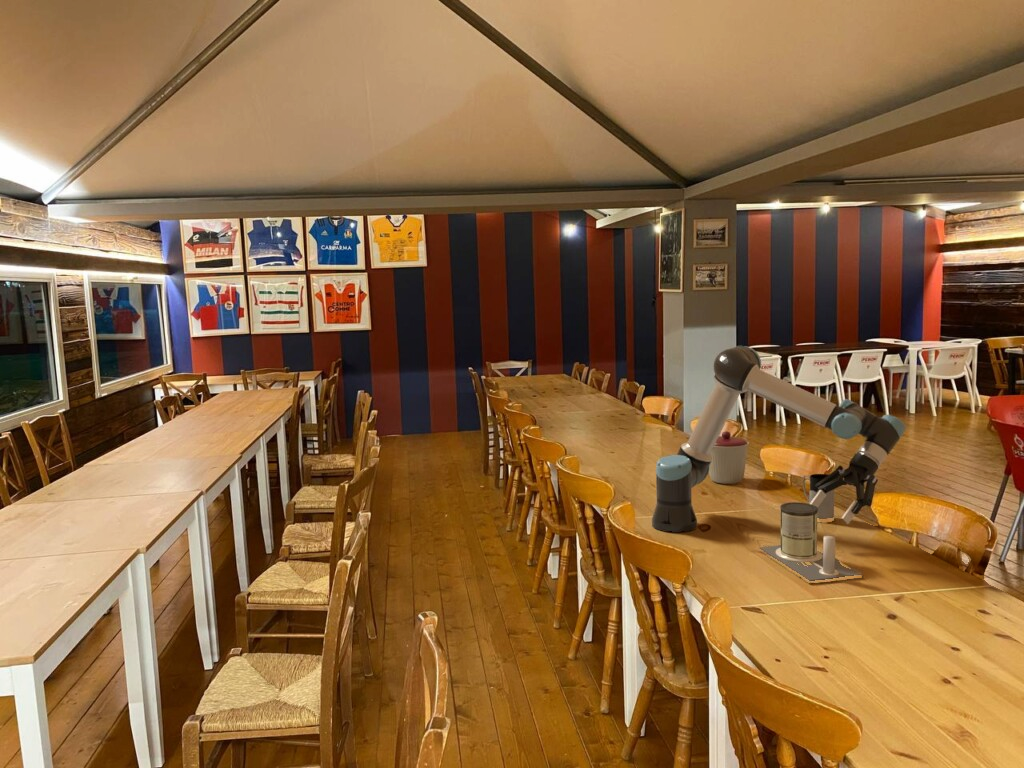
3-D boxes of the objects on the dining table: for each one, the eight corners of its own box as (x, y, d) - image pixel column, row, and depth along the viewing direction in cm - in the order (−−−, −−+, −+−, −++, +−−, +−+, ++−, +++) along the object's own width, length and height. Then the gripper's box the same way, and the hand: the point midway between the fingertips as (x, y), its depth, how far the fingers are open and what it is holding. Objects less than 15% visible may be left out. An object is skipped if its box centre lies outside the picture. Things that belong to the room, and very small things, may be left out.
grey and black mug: (819, 524, 249) (819, 480, 247) (792, 512, 262) (792, 471, 260) (841, 521, 251) (841, 478, 249) (813, 509, 264) (813, 469, 263)
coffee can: (774, 548, 224) (774, 502, 222) (808, 546, 224) (808, 501, 222) (788, 560, 213) (788, 513, 212) (823, 558, 214) (824, 511, 212)
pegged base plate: (809, 584, 199) (809, 544, 198) (759, 551, 226) (759, 515, 224) (863, 578, 202) (863, 538, 201) (807, 546, 228) (807, 510, 227)
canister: (704, 486, 302) (704, 435, 299) (703, 475, 319) (703, 427, 317) (750, 487, 297) (750, 435, 295) (747, 476, 315) (747, 427, 312)
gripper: (908, 476, 214) (867, 534, 210) (843, 459, 237) (805, 511, 234) (894, 460, 211) (852, 518, 208) (830, 445, 234) (791, 497, 231)
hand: (827, 514), depth 221 cm, fingers open, 13 cm apart
